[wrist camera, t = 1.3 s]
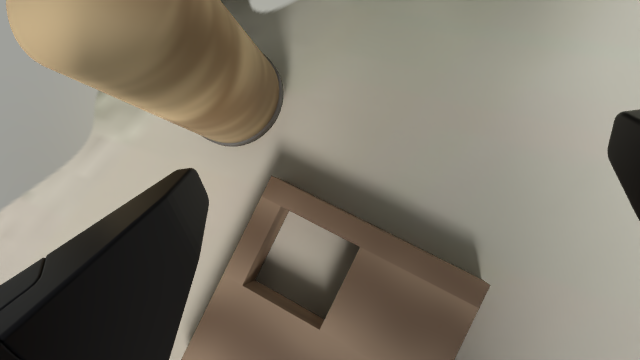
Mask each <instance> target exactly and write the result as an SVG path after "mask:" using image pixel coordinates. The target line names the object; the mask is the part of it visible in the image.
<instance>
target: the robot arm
mask: <svg viewBox="0 0 640 360" xmlns="http://www.w3.org/2000/svg"><path fill="white" fill-rule="evenodd" d="M608 158H609V161H610V163H611V165H612V167H613V169H614V171H615V173H616V175H617V177H618V179H619V181H620V183H621V185H622V187H623V189H624V191H625V193H626V195H627V197H628V199H629V201H630V203H631V205H632V207H633V209H634V211H635V213H636V215H637V217H638V219H639V220H640V109H639V110H632V111H624V112H621V113H619V114H618V115H617V116H616V118H615V120H614V124H613V128H612V132H611V136H610V141H609V145H608ZM208 206H209V199H208V195H207V193H206V190H205V188H204V186H203V184H202V182H201V179H200V177H199V175H198V173H197V171H196V170H195V169H193V168H187V169H180V170H176V171H174V172H173V173H171V174H170V175H168V176H167V177H165V178H164V179H162V180H161V181H159V182H158V183H156V184H155V185H153V186H151V187H150V188H148V189H147V190H145V191H144V192H142V193H141V194H139V195H138V196H136V197H135V198H133V199H132V200H130V201H129V202H127V203H126V204H124V205H123V206H121V207H120V208H118V209H116V210H115V211H113V212H112V213H110V214H109V215H107V216H106V217H104V218H103V219H101V220H100V221H98V222H97V223H95V224H94V225H92V226H91V227H89V228H88V229H86V230H85V231H83V232H82V233H80V234H78V235H77V236H75V237H74V238H72V239H71V240H69V241H68V242H66V243H65V244H63V245H62V246H60V247H59V248H57V249H56V250H54V251H53V252H51V253H50V254H48V255H47V256H46V258H42V259H40V260H39V261H37V262H36V263H34V264H33V265H31V266H30V267H28V268H27V269H25V270H24V271H22V272H20V273H19V274H17V275H16V276H14V277H13V278H11V279H9V280H8V281H6V282H5V283H3V284H2V285H0V360H169V358H170V355H171V351H172V348H173V345H174V341H175V338H176V335H177V331H178V328H179V324H180V321H181V318H182V314H183V311H184V308H185V304H186V301H187V298H188V294H189V291H190V288H191V284H192V281H193V278H194V274H195V271H196V268H197V264H198V260H199V256H200V252H201V246H202V241H203V235H204V229H205V223H206V218H207V212H208Z"/></svg>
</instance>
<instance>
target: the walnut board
mask: <svg viewBox="0 0 640 360" xmlns="http://www.w3.org/2000/svg"><path fill="white" fill-rule="evenodd" d="M289 211H291V212H293V213H295V214H297V215H299V216H301V217H303V218H305V219H307V220H309V221H310V222H312V223H314V224H316V225H318V226H320V227H322V228H324V229H326V230H328V231H330V232H332V233H334V234H336V235H338V236H340V237H342V238H344V239H345V240H347V241H349V242H351V243H353V244H355V245H357V246H359V247H360V248H359V250H358V252H357V254H356V256H355V259H354V261H353V263H352V265H351V267H350V269H349V271H348V273H347V275H346V277H345V279H344V281H343V283H342V285H341V287H340V289H339V291H338V293H337V295H336V297H335V299H334V301H333V304H332V306H331V308H330V310H329V312H328V314H327V316H326V318H325V319H323V318H321V317H319V316H317V315H316V314H314V313H312V312H310V311H309V310H307V309H305V308H303V307H302V306H300V305H298V304H296V303H295V302H293V301H291V300H289V299H287V298H286V297H284V296H282V295H280V294H279V293H277V292H275V291H273V290H272V289H270V288H268V287H266V286H265V285H263V284H261V283H259V282H257V281H256V280H255V279H256V277H257V275H258V273H259V271H260V269H261V267H262V265H263V263H264V261H265V259H266V257H267V255H268V253H269V251H270V249H271V247H272V244H273V242H274V240H275V238H276V236H277V234H278V232H279V230H280V228H281V226H282V224H283V222H284V220H285V218H286V216H287V214H288V212H289ZM489 287H490V285H489V284H488V283H486V282H485V281H483V280H482V279H480V278H478V277H476V276H474V275H472V274H470V273H468V272H466V271H464V270H462V269H460V268H458V267H456V266H454V265H452V264H450V263H448V262H446V261H444V260H442V259H440V258H438V257H436V256H434V255H432V254H430V253H428V252H426V251H424V250H422V249H420V248H418V247H416V246H414V245H412V244H410V243H408V242H406V241H404V240H402V239H400V238H398V237H396V236H394V235H392V234H390V233H388V232H386V231H384V230H382V229H380V228H378V227H376V226H374V225H372V224H370V223H368V222H366V221H364V220H362V219H360V218H358V217H356V216H354V215H352V214H350V213H348V212H346V211H344V210H342V209H340V208H338V207H336V206H334V205H332V204H330V203H328V202H326V201H324V200H322V199H320V198H318V197H316V196H314V195H312V194H310V193H308V192H306V191H304V190H302V189H300V188H298V187H296V186H294V185H292V184H290V183H288V182H286V181H284V180H281V179H279V178H276V177H273V176H271V178H270V180H269V182H268V184H267V186H266V188H265V190H264V192H263V194H262V196H261V198H260V200H259V202H258V204H257V206H256V208H255V210H254V212H253V215H252V217H251V219H250V221H249V223H248V225H247V227H246V229H245V231H244V233H243V235H242V237H241V239H240V241H239V243H238V245H237V247H236V249H235V251H234V253H233V255H232V257H231V259H230V261H229V263H228V265H227V267H226V269H225V272H224V274H223V276H222V278H221V280H220V282H219V284H218V286H217V288H216V290H215V292H214V294H213V296H212V298H211V300H210V302H209V304H208V306H207V308H206V310H205V312H204V314H203V316H202V318H201V320H200V322H199V324H198V326H197V328H196V331H195V333H194V335H193V337H192V339H191V341H190V343H189V345H188V347H187V349H186V351H185V353H184V355H183V357H182V359H181V360H454V359H455V357H456V355H457V353H458V351H459V349H460V347H461V345H462V343H463V340H464V338H465V336H466V334H467V332H468V330H469V328H470V326H471V324H472V322H473V320H474V318H475V316H476V314H477V312H478V310H479V308H480V305H481V303H482V301H483V299H484V297H485V295H486V293H487V291H488V289H489Z"/></svg>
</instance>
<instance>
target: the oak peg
mask: <svg viewBox="0 0 640 360" xmlns="http://www.w3.org/2000/svg"><path fill="white" fill-rule="evenodd" d="M6 7H7V15H8V19H9V23H10V27H11V30H12V32H13V34H14V36H15V38H16V40H17V41H18V43H19V45H20V46H21V47H22V49H23V50H24V51H25V52H26V53H27V54H28V55H29V56H30V57H31V58H32V59H34V60H35V61H36V62H38V63H39V64H41V65H43V66H45V67H47V68H49V69H51V70H54V71H56V72H58V73H61V74H63V75H65V76H67V77H70V78H72V79H74V80H77V81H79V82H81V83H83V84H86V85H88V86H90V87H92V88H95V89H97V90H99V91H101V92H104V93H106V94H108V95H111V96H113V97H115V98H117V99H120V100H122V101H124V102H127V103H129V104H131V105H133V106H136V107H138V108H140V109H142V110H145V111H147V112H149V113H152V114H154V115H156V116H158V117H161V118H163V119H165V120H168V121H170V122H172V123H174V124H177V125H179V126H181V127H183V128H186V129H188V130H190V131H193V132H195V133H197V134H199V135H201V136H203V137H204V138H206V139H207V140H209V141H212V142H214V143H217V144H219V145H223V146H241V145H245V144H249V143H251V142H253V141H255V140H257V139H259V138H260V137H261V136H263V135H264V134H265V133H266V132H267V131H268V130H269V129H270V128H271V127H272V125H273V124H274V123H275V121H276V119H277V118H278V115H279V113H280V111H281V107H282V102H283V85H282V81H281V78H280V75H279V73H278V71H277V69H276V68H275V66H274V65H273V64H272V62H271V61H270V60H269V59H268V58H267V57H266V56H265V55H264V54H263V53H262V52H261V51H260V50H259V48H258V47H257V46H256V45H255V43H254V42H253V41H252V40H251V38H250V37H249V36H248V35H247V33H246V32H245V31H244V30H243V28H242V27H241V26H240V25H239V23H238V22H237V21H236V20H235V18H234V17H233V16H232V15H231V13H230V12H229V11H228V10H227V8H226V7H225V6H224V5H223V3H222V2H221V1H220V0H6Z"/></svg>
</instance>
